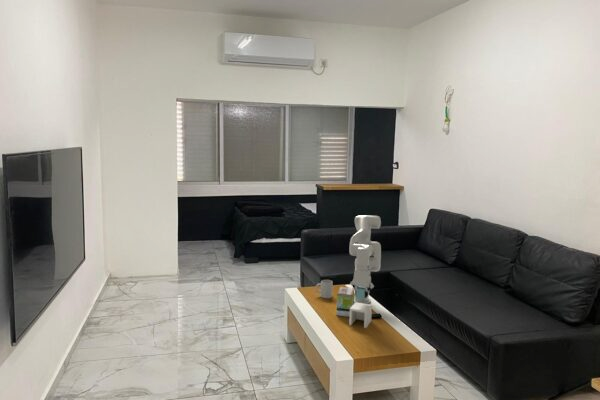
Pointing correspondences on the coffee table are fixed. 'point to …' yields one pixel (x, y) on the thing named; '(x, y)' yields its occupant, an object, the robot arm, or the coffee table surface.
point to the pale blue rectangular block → (361, 292)
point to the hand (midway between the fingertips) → (361, 296)
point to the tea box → (345, 301)
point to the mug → (325, 288)
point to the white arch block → (360, 313)
